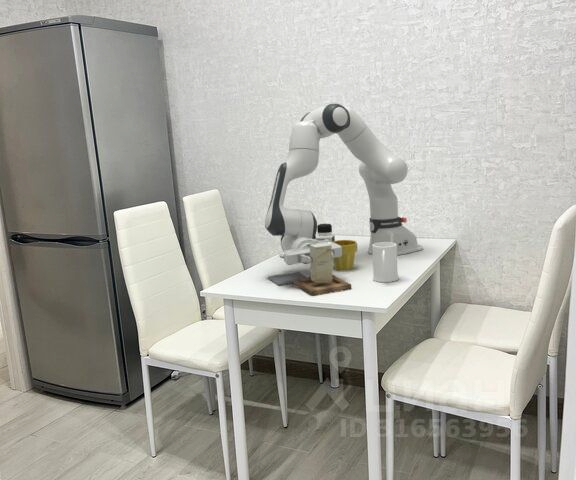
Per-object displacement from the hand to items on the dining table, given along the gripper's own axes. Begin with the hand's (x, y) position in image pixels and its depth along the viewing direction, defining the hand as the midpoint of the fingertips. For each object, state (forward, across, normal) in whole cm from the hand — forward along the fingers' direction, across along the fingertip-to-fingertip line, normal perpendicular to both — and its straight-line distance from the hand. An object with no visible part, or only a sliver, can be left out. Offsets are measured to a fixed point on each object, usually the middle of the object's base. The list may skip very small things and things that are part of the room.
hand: (321, 258), depth 188 cm
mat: (-16, -6, +10) cm, 20 cm away
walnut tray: (-1, 0, +10) cm, 10 cm away
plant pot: (-19, +17, +10) cm, 27 cm away
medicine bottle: (-49, +23, +10) cm, 55 cm away
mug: (+4, +21, +10) cm, 24 cm away
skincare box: (-1, 0, +8) cm, 8 cm away
